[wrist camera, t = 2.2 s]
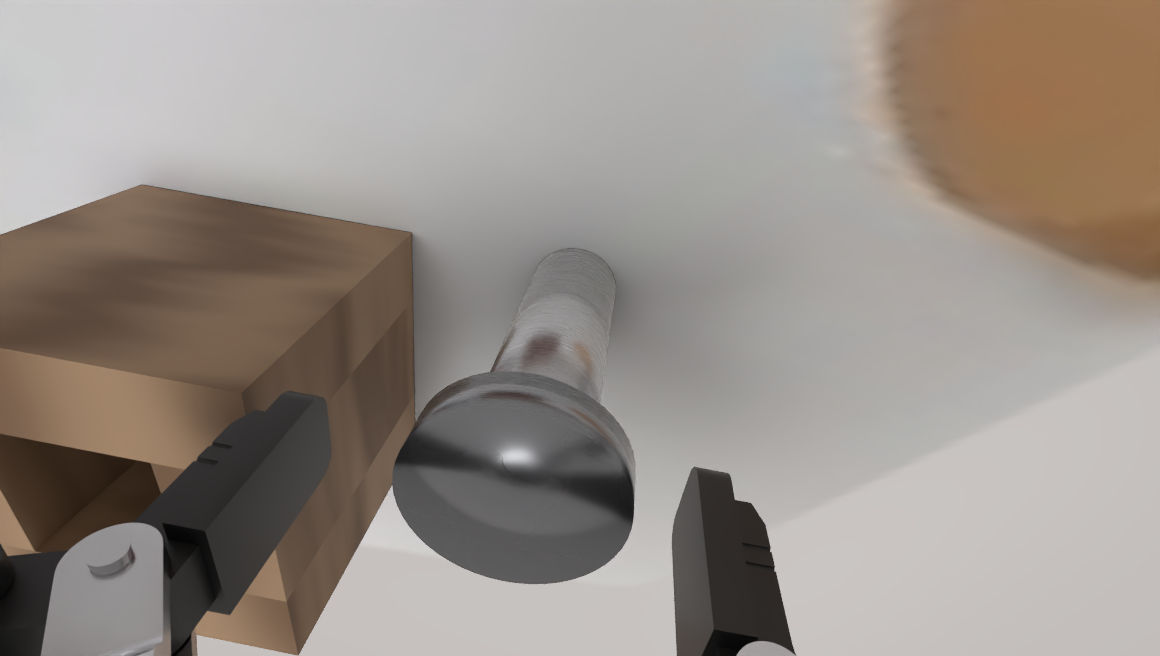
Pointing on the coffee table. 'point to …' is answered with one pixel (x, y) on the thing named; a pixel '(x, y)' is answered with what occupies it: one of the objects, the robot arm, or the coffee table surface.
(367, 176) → the coffee table surface
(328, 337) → the block
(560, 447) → the pin
